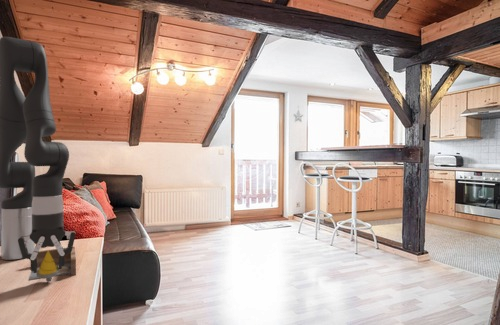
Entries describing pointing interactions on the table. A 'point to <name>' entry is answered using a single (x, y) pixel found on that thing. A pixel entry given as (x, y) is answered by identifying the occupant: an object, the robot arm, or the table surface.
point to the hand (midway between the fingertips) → (48, 269)
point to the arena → (57, 262)
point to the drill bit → (47, 268)
